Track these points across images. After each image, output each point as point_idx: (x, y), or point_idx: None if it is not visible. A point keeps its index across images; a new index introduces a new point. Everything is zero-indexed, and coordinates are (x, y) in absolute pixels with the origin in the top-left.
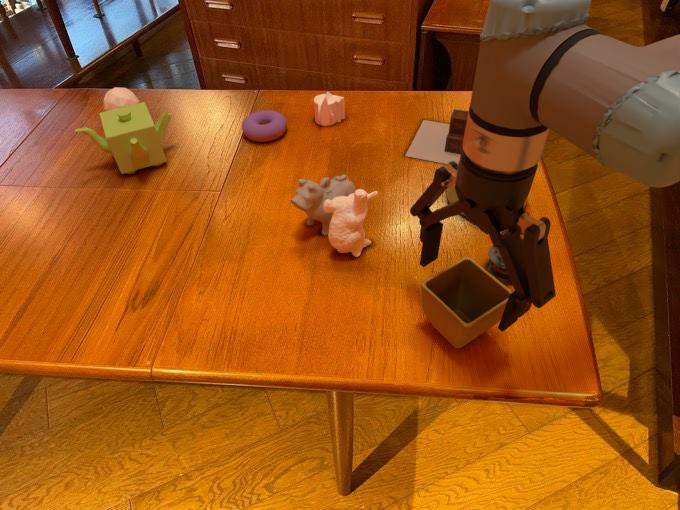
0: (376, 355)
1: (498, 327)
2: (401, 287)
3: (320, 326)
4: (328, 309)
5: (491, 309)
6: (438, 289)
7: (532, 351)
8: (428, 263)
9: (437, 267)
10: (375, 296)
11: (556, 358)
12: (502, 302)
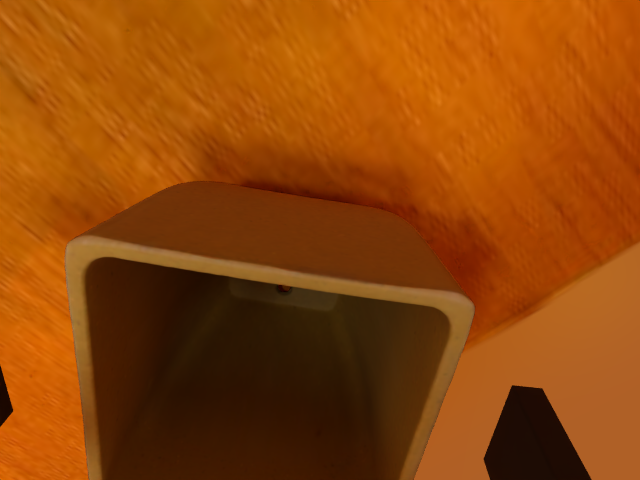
0: None
1: (487, 463)
2: (41, 239)
3: (51, 455)
4: (11, 418)
5: (418, 438)
6: (149, 349)
7: (538, 153)
8: (1, 390)
9: (20, 61)
10: (33, 317)
11: (626, 118)
12: (440, 381)
